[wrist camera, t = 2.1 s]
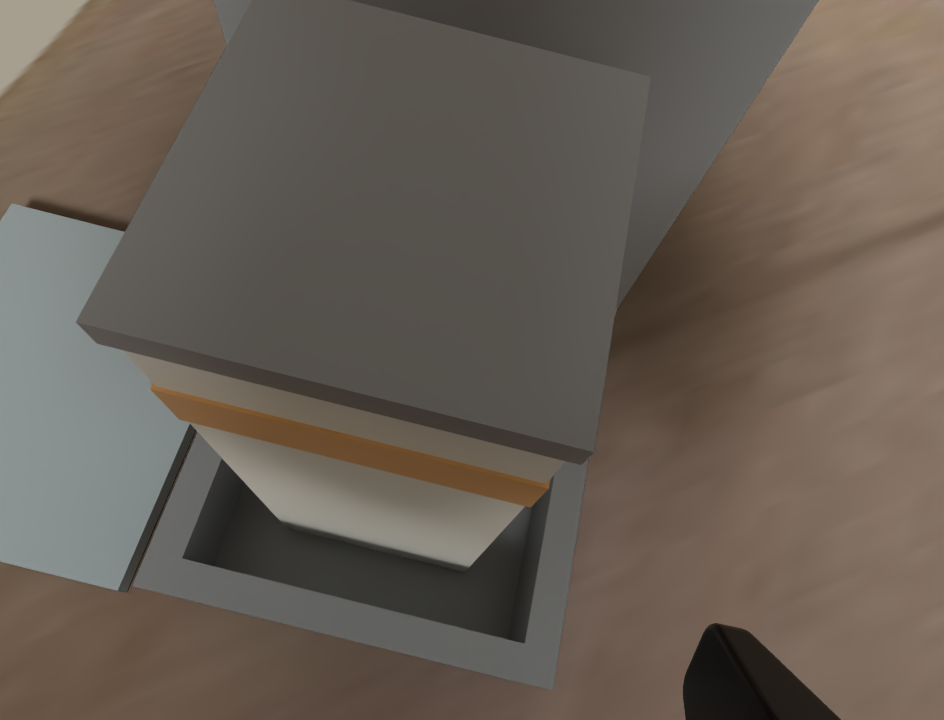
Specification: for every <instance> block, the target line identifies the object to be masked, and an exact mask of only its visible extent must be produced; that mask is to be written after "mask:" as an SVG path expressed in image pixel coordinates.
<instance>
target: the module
mask: <svg viewBox="0 0 944 720" xmlns="http://www.w3.org/2000/svg"><path fill="white" fill-rule="evenodd" d="M650 80H651V77H650V76H646V75H642V74H638V73H634V72H630V71H626V70H622V69H618V68H614V67H610V66H606V65H602V64H598V63H594V62H591V61H587V60H583V59H579V58H575V57H571V56H567V55H563V54H559V53H555V52H551V51H547V50H543V49H539V48H535V47H532V46H528V45H524V44H520V43H516V42H512V41H508V40H504V39H500V38H496V37H492V36H488V35H484V34H480V33H476V32H473V31H469V30H465V29H461V28H457V27H453V26H449V25H445V24H441V23H437V22H433V21H429V20H425V19H421V18H417V17H413V16H410V15H406V14H402V13H398V12H394V11H390V10H386V9H382V8H378V7H374V6H370V5H366V4H362V3H358V2H354V1H351V0H252V1H251V3H250V5H249V7H248V8H247V10H246V12H245V14H244V16H243V17H242V19H241V21H240V23H239V25H238V27H237V28H236V30H235V32H234V34H233V36H232V38H231V39H230V41H229V43H228V45H227V47H226V48H225V50H224V52H223V54H222V56H221V58H220V59H219V61H218V63H217V65H216V67H215V69H214V70H213V72H212V74H211V76H210V78H209V79H208V81H207V83H206V85H205V87H204V89H203V90H202V92H201V94H200V96H199V98H198V100H197V101H196V103H195V105H194V107H193V109H192V111H191V112H190V114H189V116H188V118H187V120H186V121H185V123H184V125H183V127H182V129H181V131H180V132H179V134H178V136H177V138H176V140H175V142H174V143H173V145H172V147H171V149H170V151H169V152H168V154H167V156H166V158H165V160H164V162H163V163H162V165H161V167H160V169H159V171H158V173H157V174H156V176H155V178H154V180H153V182H152V183H151V185H150V187H149V189H148V191H147V193H146V194H145V196H144V198H143V200H142V202H141V204H140V205H139V207H138V209H137V211H136V213H135V215H134V216H133V218H132V220H131V222H130V224H129V225H128V227H127V229H126V231H125V233H124V235H123V236H122V238H121V240H120V242H119V244H118V246H117V247H116V249H115V251H114V253H113V255H112V256H111V258H110V260H109V262H108V264H107V266H106V267H105V269H104V271H103V273H102V275H101V277H100V278H99V280H98V282H97V284H96V286H95V287H94V289H93V291H92V293H91V295H90V297H89V298H88V300H87V302H86V304H85V306H84V308H83V309H82V311H81V313H80V315H79V317H78V319H77V320H76V323H77V324H78V325H79V326H80V327H81V328H82V329H83V330H84V331H85V332H86V333H87V334H88V335H89V336H90V337H91V338H92V339H93V340H94V341H95V342H96V343H97V344H100V345H104V346H108V347H112V348H116V349H120V350H122V351H123V352H124V353H125V354H126V355H127V356H128V357H129V358H130V359H131V360H132V361H133V362H134V364H135V365H136V366H137V367H138V368H139V369H140V370H141V371H142V372H143V373H144V374H145V375H146V377H147V378H148V379H149V380H150V381H151V382H152V383H153V384H152V386H151V388H150V390H151V391H152V392H153V393H154V394H155V395H156V396H157V397H158V398H159V399H160V400H161V401H162V402H163V403H164V404H165V405H166V406H167V407H168V408H169V409H170V410H171V412H172V413H173V414H174V415H175V416H176V417H177V418H178V419H179V420H183V421H187V422H189V423H190V424H191V425H192V426H193V427H194V428H195V430H196V431H197V432H198V433H199V434H200V435H201V436H202V437H203V438H204V439H205V440H206V441H207V443H208V444H209V445H210V446H211V447H212V448H213V449H214V450H215V451H216V452H217V453H218V454H219V456H220V457H221V458H222V459H223V460H224V461H225V462H226V463H227V464H228V465H229V466H230V467H231V468H232V470H233V471H234V472H235V473H236V474H237V475H238V476H239V477H240V478H241V479H242V480H243V481H244V483H245V484H246V485H247V486H248V487H249V488H250V489H251V490H252V491H253V492H254V493H255V494H256V496H257V497H258V498H259V499H260V500H261V501H262V502H263V503H264V504H265V505H266V506H267V507H268V509H269V510H270V511H271V512H272V513H273V514H274V515H275V516H276V517H277V518H278V519H279V520H280V522H281V523H282V524H283V525H284V526H285V527H286V528H289V529H293V530H297V531H301V532H305V533H309V534H313V535H317V536H321V537H325V538H329V539H333V540H337V541H341V542H345V543H349V544H353V545H357V546H361V547H365V548H369V549H373V550H377V551H381V552H385V553H389V554H393V555H397V556H401V557H405V558H409V559H413V560H417V561H421V562H425V563H429V564H433V565H437V566H441V567H445V568H449V569H453V570H457V571H461V572H465V571H466V570H467V569H468V568H469V567H470V566H471V565H472V564H473V563H474V562H475V560H476V559H477V558H478V557H479V556H480V555H481V554H482V553H483V552H484V551H485V550H486V548H487V547H488V546H489V545H490V544H491V543H492V542H493V541H494V540H495V539H496V538H497V536H498V535H499V534H500V533H501V532H502V531H503V530H504V529H505V528H506V527H507V526H508V524H509V523H510V522H511V521H512V520H513V519H514V518H515V517H516V516H517V515H518V514H519V512H520V511H521V510H522V509H523V508H524V507H525V506H526V507H530V508H531V507H532V506H533V505H534V504H535V503H536V502H537V501H538V499H539V498H540V497H541V496H542V495H543V494H544V493H545V492H546V491H547V490H548V489H549V485H550V479H551V478H552V476H553V475H554V474H555V473H556V472H557V471H558V470H559V469H560V468H561V467H562V466H563V464H564V463H565V462H570V463H574V464H578V465H582V464H583V463H584V462H585V461H586V460H587V459H588V458H589V457H590V456H591V455H592V454H593V453H594V450H595V444H596V437H597V430H598V424H599V417H600V411H601V404H602V397H603V391H604V384H605V378H606V371H607V364H608V358H609V351H610V344H611V338H612V331H613V325H614V318H615V311H616V305H617V298H618V292H619V285H620V278H621V272H622V265H623V259H624V252H625V245H626V239H627V232H628V225H629V219H630V212H631V206H632V199H633V192H634V186H635V179H636V173H637V166H638V159H639V153H640V146H641V140H642V133H643V126H644V120H645V113H646V106H647V100H648V93H649V87H650Z"/></svg>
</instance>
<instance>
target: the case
mask: <svg viewBox="0 0 944 720" xmlns="http://www.w3.org/2000/svg"><path fill="white" fill-rule="evenodd" d="M251 1H252V0H214V3H215V7H216V10H217V14H218V17H219V21H220V25H221V28H222V32H223V35H224V39H225V42H226V46H227V45H228V43H229V41H230V39H231V38H232V36H233V34H234V32H235V30H236V28H237V27H238V25H239V23H240V21H241V19H242V17H243V16H244V14H245V12H246V10H247V8H248V7H249V5H250V3H251ZM351 1H354V2H358V3H362V4H366V5H370V6H374V7H378V8H382V9H386V10H390V11H394V12H398V13H402V14H406V15H410V16H413V17H417V18H421V19H425V20H429V21H433V22H437V23H441V24H445V25H449V26H453V27H457V28H461V29H465V30H469V31H473V32H476V33H480V34H484V35H488V36H492V37H496V38H500V39H504V40H508V41H512V42H516V43H520V44H524V45H528V46H532V47H535V48H539V49H543V50H547V51H551V52H555V53H559V54H563V55H567V56H571V57H575V58H579V59H583V60H587V61H591V62H594V63H598V64H602V65H606V66H610V67H614V68H618V69H622V70H626V71H630V72H634V73H638V74H642V75H646V76H650V77H651V80H650V87H649V93H648V100H647V106H646V113H645V120H644V126H643V133H642V140H641V146H640V153H639V159H638V166H637V173H636V179H635V186H634V192H633V199H632V206H631V212H630V219H629V225H628V232H627V239H626V245H625V252H624V259H623V265H622V272H621V278H620V285H619V292H618V298H617V305H616V311H617V309H618V307H619V305H620V304H621V302H622V301H623V299H624V298H625V296H626V295H627V293H628V292H629V290H630V289H631V287H632V286H633V284H634V283H635V281H636V279H637V278H638V276H639V275H640V273H641V272H642V270H643V269H644V267H645V266H646V264H647V263H648V261H649V260H650V258H651V257H652V255H653V253H654V252H655V250H656V249H657V247H658V246H659V244H660V243H661V241H662V240H663V238H664V237H665V235H666V234H667V232H668V231H669V229H670V227H671V226H672V224H673V223H674V221H675V220H676V218H677V217H678V215H679V214H680V212H681V211H682V209H683V208H684V206H685V205H686V203H687V201H688V200H689V198H690V197H691V195H692V194H693V192H694V191H695V189H696V188H697V186H698V185H699V183H700V182H701V180H702V178H703V177H704V175H705V174H706V172H707V171H708V169H709V168H710V166H711V165H712V163H713V162H714V160H715V159H716V157H717V156H718V154H719V152H720V151H721V149H722V148H723V146H724V145H725V143H726V142H727V140H728V139H729V137H730V136H731V134H732V133H733V131H734V130H735V128H736V126H737V125H738V123H739V122H740V120H741V119H742V117H743V116H744V114H745V113H746V111H747V110H748V108H749V107H750V105H751V104H752V102H753V100H754V99H755V97H756V96H757V94H758V93H759V91H760V90H761V88H762V87H763V85H764V84H765V82H766V81H767V79H768V78H769V76H770V74H771V73H772V71H773V70H774V68H775V67H776V65H777V64H778V62H779V61H780V59H781V58H782V56H783V55H784V53H785V52H786V50H787V48H788V47H789V45H790V44H791V42H792V41H793V39H794V38H795V36H796V35H797V33H798V32H799V30H800V29H801V27H802V26H803V24H804V22H805V21H806V19H807V18H808V16H809V15H810V13H811V12H812V10H813V9H814V7H815V6H816V4H817V3H818V1H819V0H351ZM616 311H615V314H616ZM588 461H589V458H588V459H587V460H586V461H585V462H584V463H583V464H582V465H578V464H574V463H570V462H565V463H564V464H563V466H562V467H561V468H560V469H559V470H558V471H557V472H556V473H555V474H554V475H553V476H552V478H551V479H550V485H549V489H548V490H547V491H546V492H545V493H544V494H543V495H542V496H541V497H540V498H539V499H538V501H537V502H536V503H535V504H534V505H533V506H532V507H531V508H530V507H526V506H525V507H524V508H523V509H522V510H521V511H520V512H519V514H518V515H517V516H516V517H515V518H514V519H513V520H512V521H511V522H510V523H509V524H508V526H507V527H506V528H505V529H504V530H503V531H502V532H501V533H500V534H499V535H498V536H497V538H496V539H495V540H494V541H493V542H492V543H491V544H490V545H489V546H488V547H487V548H486V550H485V551H484V552H483V553H482V554H481V555H480V556H479V557H478V558H477V559H476V560H475V562H474V563H473V564H472V565H471V566H470V567H469V568H468V569H467V570H466V571H465V572H461V571H457V570H453V569H449V568H445V567H441V566H437V565H433V564H429V563H425V562H421V561H417V560H413V559H409V558H405V557H401V556H397V555H393V554H389V553H385V552H381V551H377V550H373V549H369V548H365V547H361V546H357V545H353V544H349V543H345V542H341V541H337V540H333V539H329V538H325V537H321V536H317V535H313V534H309V533H305V532H301V531H297V530H293V529H289V528H286V527H285V526H284V525H283V524H282V523H281V522H280V520H279V519H278V518H277V517H276V516H275V515H274V514H273V513H272V512H271V511H270V510H269V509H268V507H267V506H266V505H265V504H264V503H263V502H262V501H261V500H260V499H259V498H258V497H257V496H256V494H255V493H254V492H253V491H252V490H251V489H250V488H249V487H248V486H247V485H246V484H245V483H244V481H243V480H242V479H241V478H240V477H239V476H238V475H237V474H236V473H235V472H234V471H233V470H232V468H231V467H230V466H229V465H228V464H227V463H226V462H225V461H224V460H223V459H222V458H221V457H220V456H219V454H218V453H217V452H216V451H215V450H214V449H213V448H212V447H211V446H210V445H209V444H208V443H207V441H206V440H205V439H204V438H203V437H202V436H201V435H200V434H199V433H198V432H197V434H196V437H195V439H194V441H193V444H192V446H191V448H190V451H189V453H188V456H187V458H186V460H185V463H184V465H183V467H182V470H181V472H180V474H179V477H178V479H177V482H176V484H175V486H174V489H173V491H172V493H171V496H170V498H169V500H168V503H167V505H166V507H165V510H164V512H163V515H162V517H161V519H160V522H159V524H158V526H157V529H156V531H155V533H154V536H153V538H152V540H151V543H150V545H149V548H148V550H147V552H146V555H145V557H144V559H143V562H142V564H141V566H140V569H139V571H138V574H137V576H136V578H135V581H134V583H133V585H132V586H134V587H138V588H142V589H146V590H150V591H154V592H158V593H162V594H166V595H170V596H174V597H178V598H182V599H186V600H190V601H194V602H198V603H202V604H206V605H210V606H214V607H218V608H222V609H226V610H230V611H234V612H238V613H242V614H246V615H250V616H254V617H258V618H262V619H266V620H270V621H274V622H278V623H282V624H286V625H290V626H295V627H299V628H303V629H307V630H311V631H315V632H319V633H323V634H327V635H331V636H335V637H339V638H343V639H347V640H351V641H355V642H359V643H363V644H367V645H371V646H375V647H379V648H383V649H387V650H391V651H395V652H399V653H403V654H407V655H411V656H415V657H419V658H423V659H427V660H431V661H435V662H439V663H443V664H447V665H451V666H455V667H459V668H463V669H467V670H471V671H475V672H479V673H483V674H487V675H491V676H495V677H499V678H503V679H508V680H512V681H516V682H520V683H524V684H528V685H532V686H536V687H540V688H544V689H548V690H552V691H553V688H554V681H555V675H556V668H557V662H558V655H559V649H560V642H561V636H562V629H563V623H564V616H565V610H566V603H567V597H568V590H569V584H570V577H571V571H572V565H573V558H574V552H575V545H576V539H577V532H578V526H579V519H580V513H581V506H582V500H583V493H584V487H585V480H586V474H587V467H588Z"/></svg>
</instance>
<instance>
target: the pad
mask: <svg viewBox="0 0 944 720" xmlns="http://www.w3.org/2000/svg"><path fill="white" fill-rule="evenodd" d="M124 233H125V232H123V231H119V230H115V229H111V228H107V227H103V226H99V225H95V224H91V223H87V222H83V221H79V220H75V219H71V218H67V217H63V216H60V215H56V214H52V213H48V212H44V211H40V210H36V209H32V208H28V207H24V206H20V205H16V204H11V206H10V207H9V209H8V210H7V212H6V213H5V215H4V216H3V218H2V219H1V221H0V562H4V563H8V564H12V565H16V566H20V567H24V568H28V569H32V570H36V571H40V572H44V573H48V574H52V575H56V576H60V577H64V578H68V579H72V580H76V581H80V582H84V583H88V584H92V585H96V586H100V587H104V588H108V589H112V590H116V591H121V592H127V590H128V588H129V585H130V583H131V581H132V578H133V576H134V574H135V571H136V569H137V567H138V564H139V562H140V560H141V557H142V555H143V553H144V550H145V548H146V546H147V543H148V541H149V538H150V536H151V534H152V531H153V529H154V527H155V524H156V522H157V520H158V517H159V515H160V513H161V510H162V508H163V506H164V503H165V501H166V499H167V496H168V494H169V491H170V489H171V487H172V484H173V482H174V480H175V477H176V475H177V473H178V470H179V468H180V466H181V463H182V461H183V459H184V456H185V454H186V452H187V449H188V447H189V444H190V442H191V440H192V437H193V435H194V433H195V428H194V427H193V426H192V425H191V424H190V423H189V422H187V421H183V420H179V419H178V418H177V417H176V416H175V415H174V414H173V413H172V412H171V410H170V409H169V408H168V407H167V406H166V405H165V404H164V403H163V402H162V401H161V400H160V399H159V398H158V397H157V396H156V395H155V394H154V393H153V392H152V391H151V390H150V388H151V386H152V384H153V383H152V382H151V381H150V380H149V379H148V378H147V377H146V375H145V374H144V373H143V372H142V371H141V370H140V369H139V368H138V367H137V366H136V365H135V364H134V362H133V361H132V360H131V359H130V358H129V357H128V356H127V355H126V354H125V353H124V352H123V351H122V350H120V349H116V348H112V347H108V346H104V345H100V344H97V343H96V342H95V341H94V340H93V339H92V338H91V337H90V336H89V335H88V334H87V333H86V332H85V331H84V330H83V329H82V328H81V327H80V326H79V325H78V324H77V323H76V320H77V319H78V317H79V315H80V313H81V311H82V309H83V308H84V306H85V304H86V302H87V300H88V298H89V297H90V295H91V293H92V291H93V289H94V287H95V286H96V284H97V282H98V280H99V278H100V277H101V275H102V273H103V271H104V269H105V267H106V266H107V264H108V262H109V260H110V258H111V256H112V255H113V253H114V251H115V249H116V247H117V246H118V244H119V242H120V240H121V238H122V236H123V235H124Z"/></svg>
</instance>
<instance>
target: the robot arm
mask: <svg viewBox="0 0 944 720" xmlns="http://www.w3.org/2000/svg"><path fill="white" fill-rule="evenodd" d="M683 700H684V709H685V718H686V720H841V719H840V718H839V717H838V716H837V715H836V714H835V713H834V712H832V711H831V710H830V709H829V708H828V707H827V706H826V705H825V704H824V703H823V702H822V701H821V700H820V699H819V698H818V697H817V696H816V695H815V694H814V693H813V692H812V691H811V690H810V689H808V688H807V687H806V686H805V685H804V684H803V683H802V682H801V681H800V680H799V679H798V678H797V677H796V676H795V675H794V674H793V673H792V672H791V671H790V670H789V669H788V668H787V667H786V666H784V665H783V664H782V663H781V662H780V661H779V660H778V659H777V658H776V657H775V656H774V655H773V654H772V653H771V652H770V651H769V650H768V649H767V648H766V647H765V646H764V645H763V644H761V643H760V642H759V641H758V640H757V639H756V638H755V637H754V636H753V635H752V634H751V633H750V632H748V631H747V630H745V629H742V628H737V627H732V626H728V625H723V624H718V623H714V624H711V625H709V626H708V627H707V628H706V630H705V631H704V633H703V635H702V637H701V640H700V642H699V644H698V647H697V649H696V651H695V653H694V656H693V658H692V660H691V663H690V665H689V667H688V669H687V672H686V675H685V678H684V684H683Z"/></svg>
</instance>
